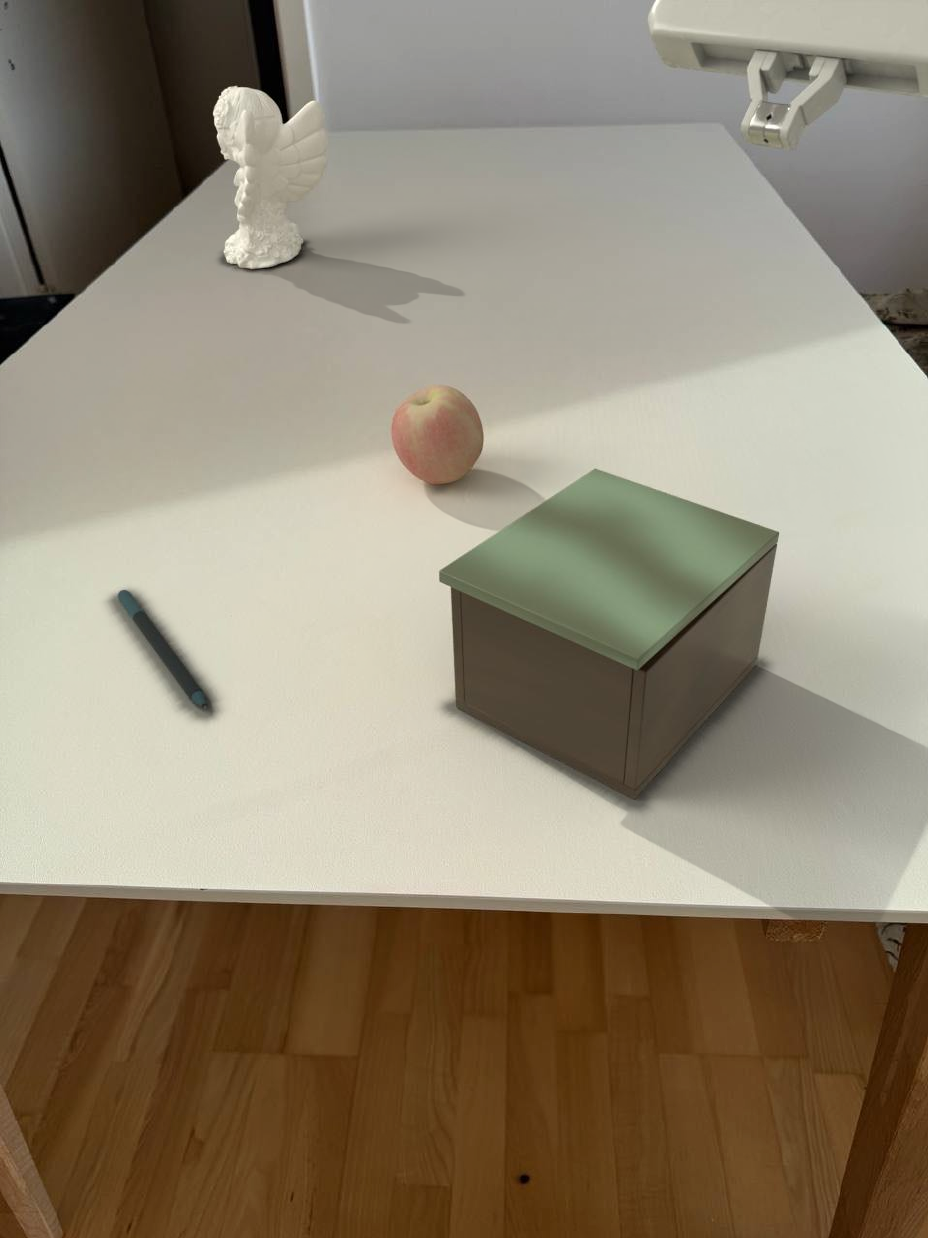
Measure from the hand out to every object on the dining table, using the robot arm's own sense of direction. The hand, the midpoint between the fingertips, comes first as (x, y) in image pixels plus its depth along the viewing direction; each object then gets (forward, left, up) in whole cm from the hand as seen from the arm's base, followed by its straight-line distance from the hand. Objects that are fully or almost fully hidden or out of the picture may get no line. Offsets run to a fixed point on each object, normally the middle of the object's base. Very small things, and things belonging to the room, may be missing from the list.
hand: (765, 140), depth 62 cm
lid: (+5, +13, -21) cm, 25 cm away
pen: (+36, +16, -32) cm, 51 cm away
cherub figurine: (+62, -63, -32) cm, 94 cm away
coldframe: (+5, +12, -31) cm, 34 cm away
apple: (+24, -12, -32) cm, 41 cm away
